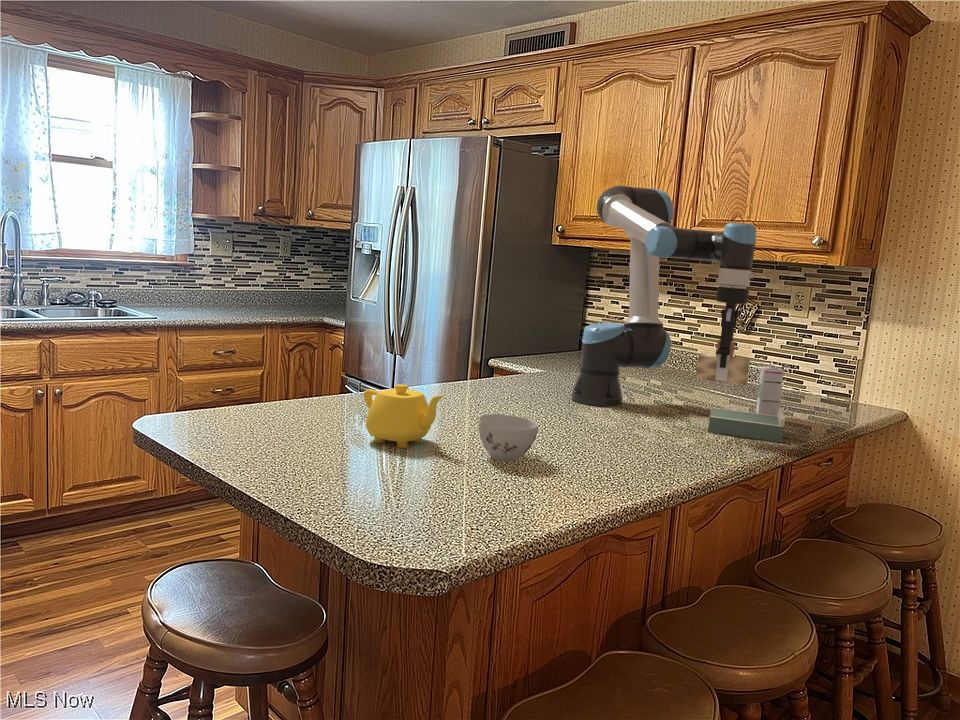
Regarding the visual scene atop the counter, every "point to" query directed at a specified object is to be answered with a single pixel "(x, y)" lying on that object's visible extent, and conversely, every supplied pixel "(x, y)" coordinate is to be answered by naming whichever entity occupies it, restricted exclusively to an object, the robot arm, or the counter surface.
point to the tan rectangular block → (735, 370)
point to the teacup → (507, 435)
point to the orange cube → (730, 348)
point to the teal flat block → (747, 424)
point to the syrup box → (769, 390)
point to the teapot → (399, 415)
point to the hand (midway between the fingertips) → (721, 378)
